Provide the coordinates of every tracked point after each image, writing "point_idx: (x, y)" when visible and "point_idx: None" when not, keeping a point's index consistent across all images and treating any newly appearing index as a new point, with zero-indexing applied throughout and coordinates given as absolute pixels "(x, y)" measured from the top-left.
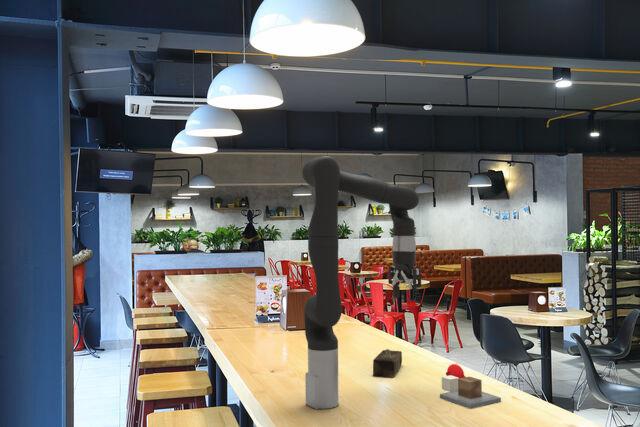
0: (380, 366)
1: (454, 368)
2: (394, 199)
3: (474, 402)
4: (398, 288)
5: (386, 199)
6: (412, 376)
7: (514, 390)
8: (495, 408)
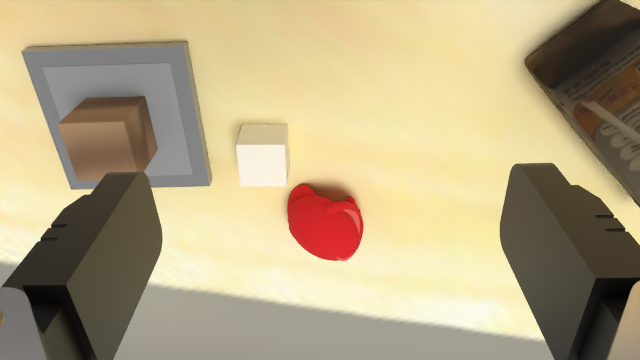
0: (594, 31)
1: (316, 230)
2: None
3: (40, 83)
4: (554, 326)
5: None
6: (485, 138)
7: (169, 282)
8: (13, 122)
